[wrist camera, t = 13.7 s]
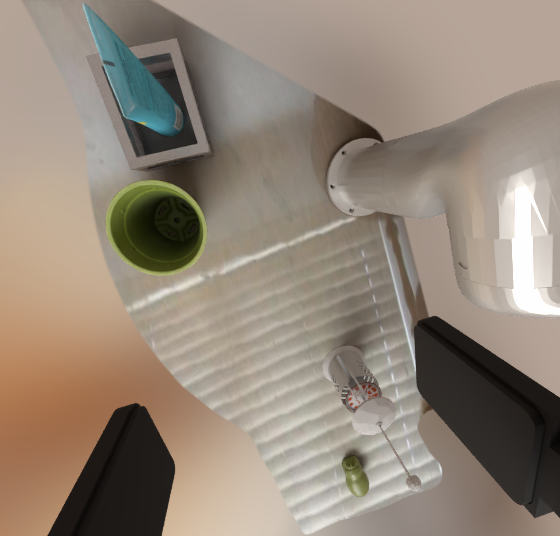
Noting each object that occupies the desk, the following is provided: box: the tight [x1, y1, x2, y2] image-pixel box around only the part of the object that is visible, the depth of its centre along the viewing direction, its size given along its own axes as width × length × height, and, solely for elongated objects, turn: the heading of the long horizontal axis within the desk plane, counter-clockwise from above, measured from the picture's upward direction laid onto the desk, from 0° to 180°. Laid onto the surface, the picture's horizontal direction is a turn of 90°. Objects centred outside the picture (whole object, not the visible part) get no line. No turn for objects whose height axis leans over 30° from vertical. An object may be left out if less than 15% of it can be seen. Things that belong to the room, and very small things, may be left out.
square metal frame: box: [86, 38, 214, 171], centre depth 35 cm, size 10×12×6 cm
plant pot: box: [106, 180, 207, 276], centre depth 37 cm, size 12×12×11 cm
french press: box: [322, 345, 421, 491], centre depth 45 cm, size 10×12×25 cm
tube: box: [82, 4, 185, 137], centre depth 29 cm, size 7×5×19 cm, turn 17°
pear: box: [342, 456, 369, 497], centre depth 66 cm, size 6×5×10 cm
